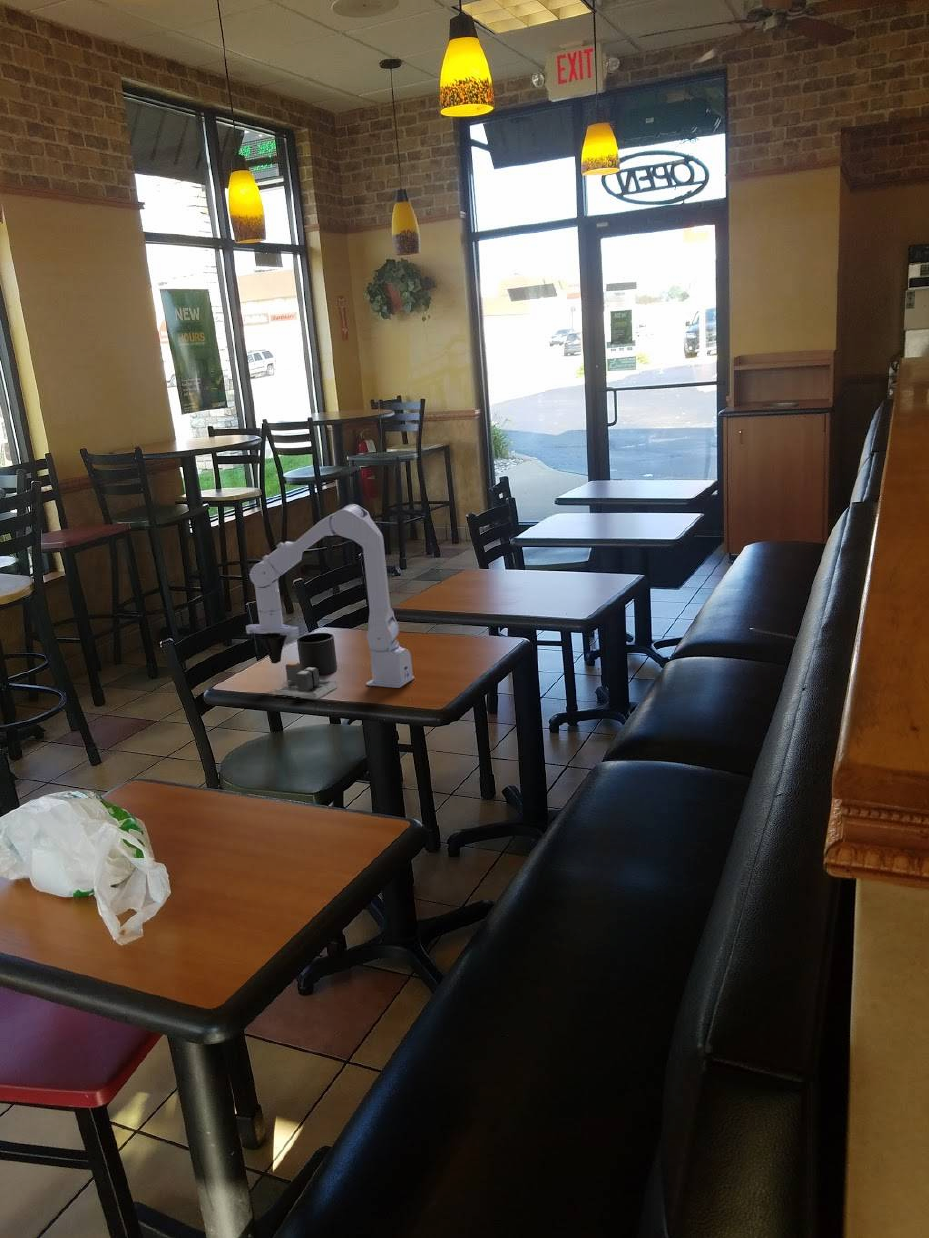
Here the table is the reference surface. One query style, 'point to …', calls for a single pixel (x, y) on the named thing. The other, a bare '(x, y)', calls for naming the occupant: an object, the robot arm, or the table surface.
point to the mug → (317, 652)
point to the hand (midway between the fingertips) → (276, 662)
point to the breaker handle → (292, 670)
